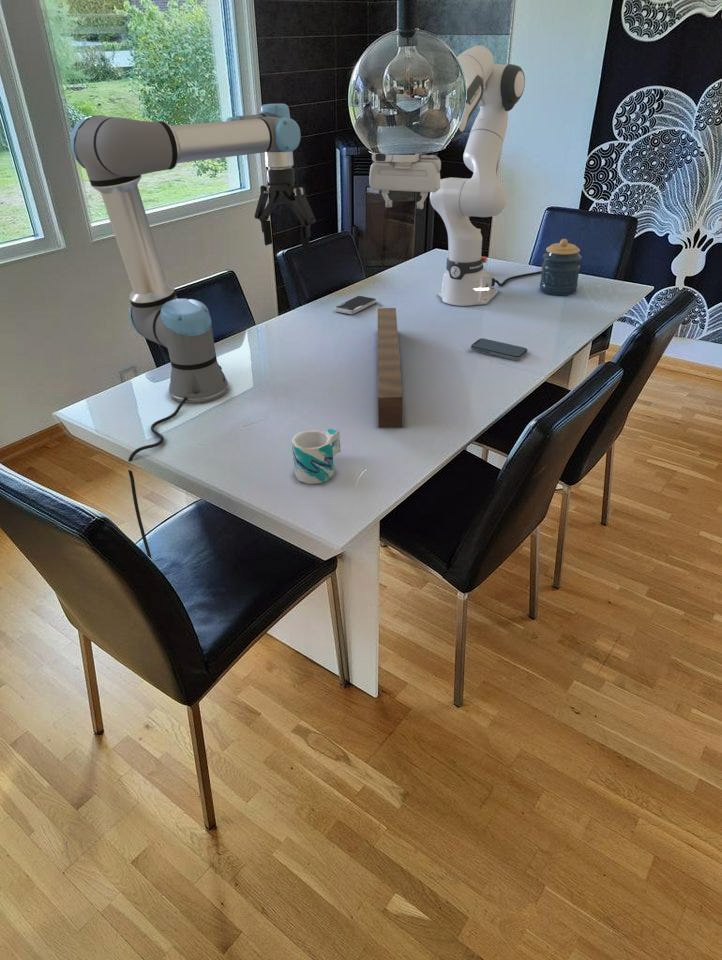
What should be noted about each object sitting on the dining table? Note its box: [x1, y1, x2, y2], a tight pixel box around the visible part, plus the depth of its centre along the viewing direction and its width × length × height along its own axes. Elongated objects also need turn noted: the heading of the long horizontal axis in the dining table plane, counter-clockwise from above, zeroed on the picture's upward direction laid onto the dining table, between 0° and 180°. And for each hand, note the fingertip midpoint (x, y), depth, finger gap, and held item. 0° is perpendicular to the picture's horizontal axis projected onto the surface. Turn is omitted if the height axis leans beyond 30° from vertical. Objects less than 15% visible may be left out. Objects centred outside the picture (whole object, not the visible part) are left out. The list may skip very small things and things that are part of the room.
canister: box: [539, 238, 582, 296], centre depth 234 cm, size 13×13×18 cm
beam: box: [377, 307, 403, 428], centre depth 182 cm, size 62×6×8 cm, turn 179°
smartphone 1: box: [334, 295, 377, 315], centre depth 231 cm, size 8×1×15 cm
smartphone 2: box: [470, 337, 528, 361], centre depth 193 cm, size 8×2×15 cm
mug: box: [291, 427, 341, 485], centre depth 140 cm, size 8×12×8 cm
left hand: (286, 246), depth 197 cm, fingers open, 13 cm apart
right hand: (404, 207), depth 190 cm, fingers open, 8 cm apart
